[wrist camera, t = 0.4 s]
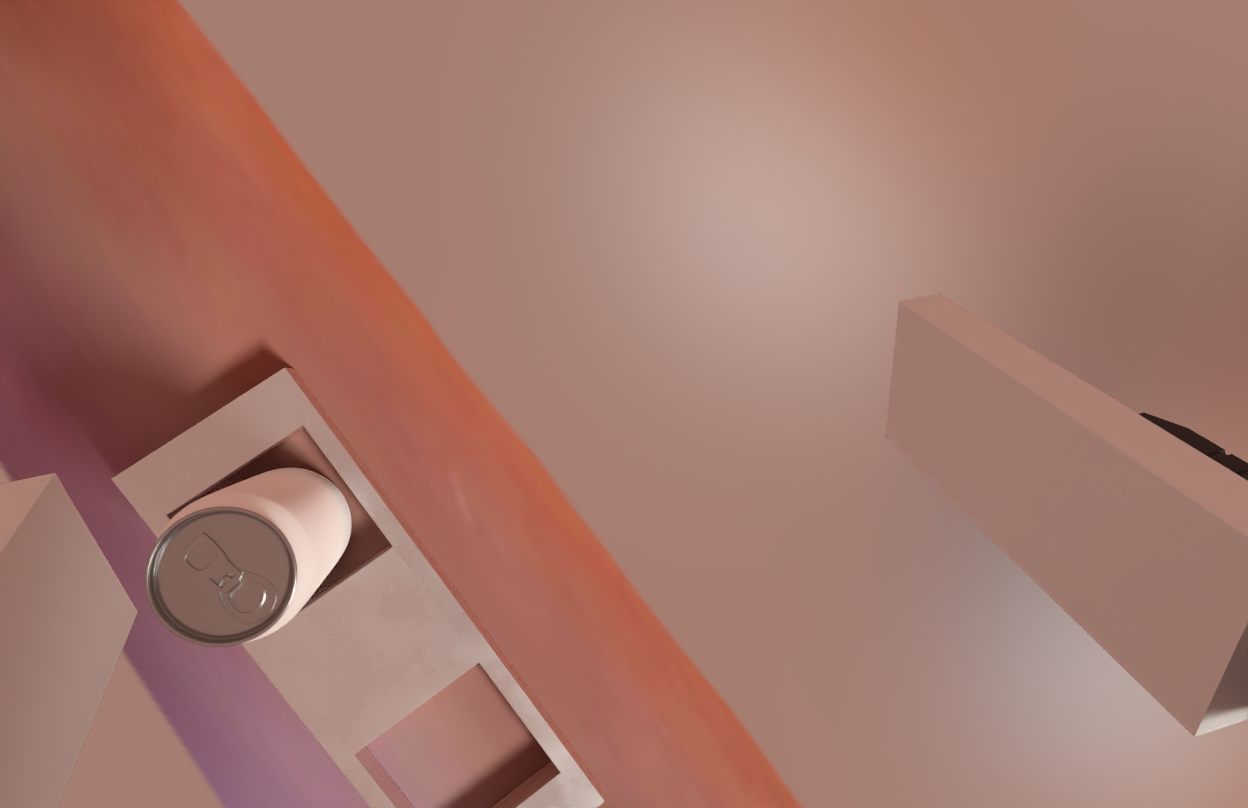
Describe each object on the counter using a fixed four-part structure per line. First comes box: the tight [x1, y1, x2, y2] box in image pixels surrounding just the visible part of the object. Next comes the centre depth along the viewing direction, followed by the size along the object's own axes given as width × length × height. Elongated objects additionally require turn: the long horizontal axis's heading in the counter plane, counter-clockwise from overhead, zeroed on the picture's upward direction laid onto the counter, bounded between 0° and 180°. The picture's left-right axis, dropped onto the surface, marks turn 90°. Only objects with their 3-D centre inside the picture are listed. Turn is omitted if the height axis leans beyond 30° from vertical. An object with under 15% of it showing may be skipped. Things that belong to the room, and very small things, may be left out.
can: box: [145, 468, 351, 647], centre depth 36 cm, size 6×6×12 cm
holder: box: [111, 368, 605, 808], centre depth 42 cm, size 30×10×2 cm, turn 34°
